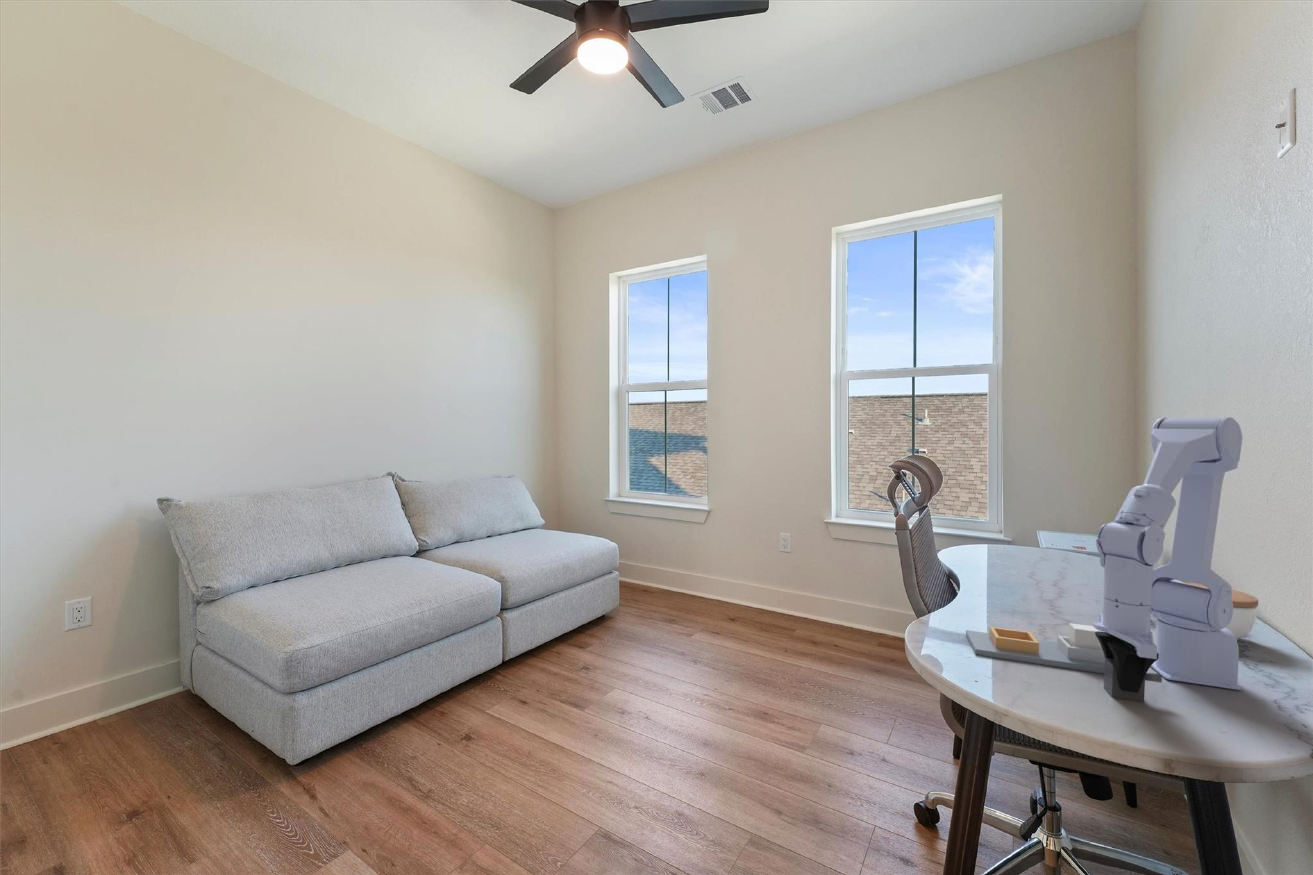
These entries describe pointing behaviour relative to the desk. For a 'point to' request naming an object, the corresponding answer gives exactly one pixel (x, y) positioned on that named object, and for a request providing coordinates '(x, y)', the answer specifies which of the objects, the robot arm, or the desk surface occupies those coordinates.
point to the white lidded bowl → (1240, 612)
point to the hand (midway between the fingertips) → (1123, 685)
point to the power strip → (1043, 647)
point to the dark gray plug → (1113, 685)
